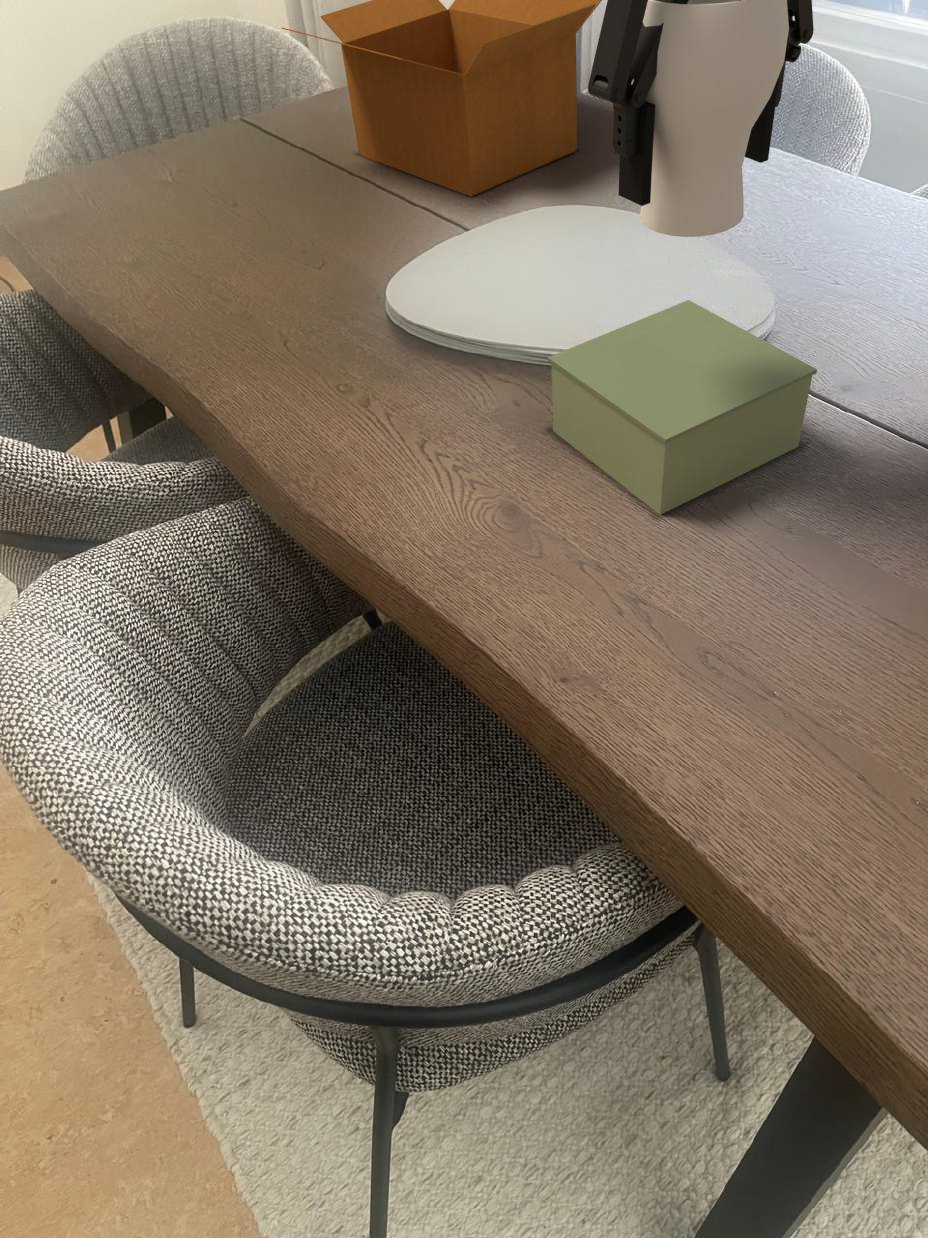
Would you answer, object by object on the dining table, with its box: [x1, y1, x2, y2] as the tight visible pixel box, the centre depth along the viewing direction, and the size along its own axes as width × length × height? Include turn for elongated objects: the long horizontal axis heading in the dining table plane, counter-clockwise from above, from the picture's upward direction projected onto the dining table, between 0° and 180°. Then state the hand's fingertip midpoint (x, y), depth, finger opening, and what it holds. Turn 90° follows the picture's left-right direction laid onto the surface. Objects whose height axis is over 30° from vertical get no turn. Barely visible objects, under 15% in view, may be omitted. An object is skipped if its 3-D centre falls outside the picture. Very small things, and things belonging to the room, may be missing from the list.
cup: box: [631, 0, 789, 238], centre depth 66 cm, size 11×11×15 cm
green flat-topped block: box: [547, 299, 818, 516], centre depth 85 cm, size 16×16×8 cm
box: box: [281, 0, 603, 197], centre depth 137 cm, size 39×37×21 cm
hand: (694, 177), depth 70 cm, fingers closed on cup, 11 cm apart
